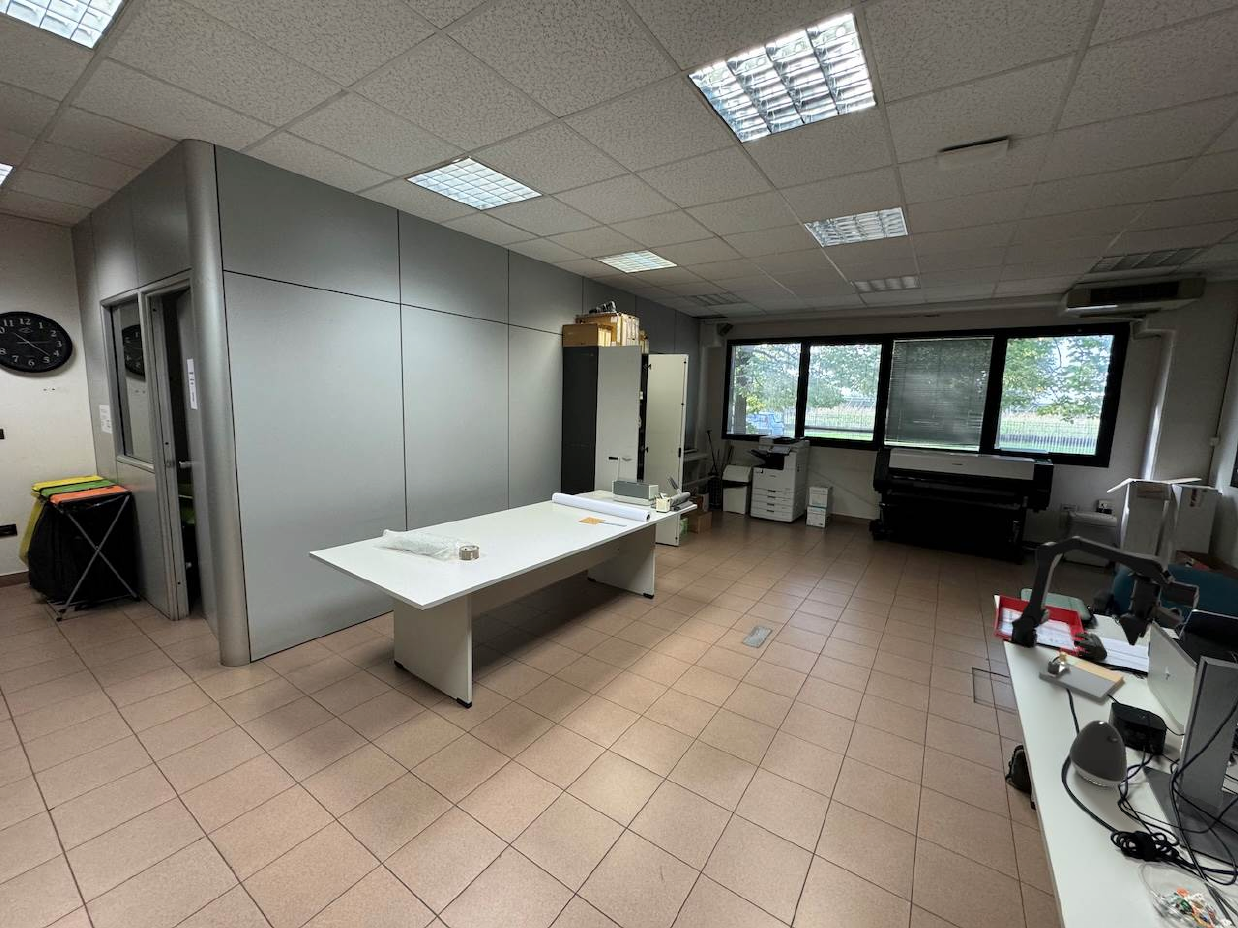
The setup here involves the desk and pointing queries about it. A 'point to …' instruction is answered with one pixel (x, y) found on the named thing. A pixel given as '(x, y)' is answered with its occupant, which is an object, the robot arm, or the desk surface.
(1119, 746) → the egg shaped dome
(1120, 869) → the desk surface
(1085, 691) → the door board
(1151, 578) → the robot arm
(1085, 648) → the end cap
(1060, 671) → the door handle
